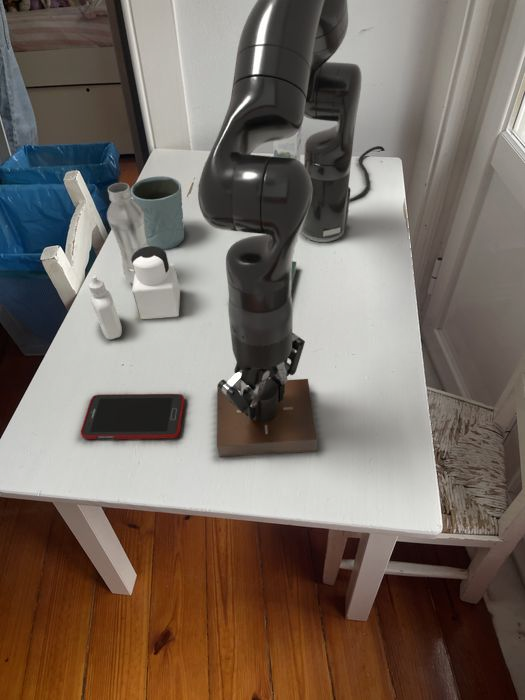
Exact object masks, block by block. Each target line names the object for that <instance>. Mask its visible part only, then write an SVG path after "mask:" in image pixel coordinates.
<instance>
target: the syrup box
mask: <svg viewBox="0 0 525 700" xmlns="http://www.w3.org/2000/svg"><path fill="white" fill-rule="evenodd" d="M301 148H302V127H301V128H300V129H299V131H298V132H297V133H296V134H295V135H293V136H292V137H290V138H287V139H283V140H279V141H274V142H273V156H277V157H289V158H293V159H296V160H298V161H300V162H301V150H302V149H301Z"/></svg>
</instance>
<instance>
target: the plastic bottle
mask: <svg viewBox="0 0 525 700" xmlns="http://www.w3.org/2000/svg"><path fill="white" fill-rule="evenodd" d="M107 193H108V199H109V201H110V204H109V206H108V208H107V211H106V220H107V222H108V225H109V227H110V229H111V231H112V233H113V235H114V237H115V240H116V242H117V244H118V248H119V251H120V256H121V260H122V272H123V275H124V277H125V279H126V281H127V282H128V283H130V284H131V285H133V282H134V276H135V272H134V268H133V265H132V261H131V258H132V256H133V254H134V253H135V252H136V251H137V250H139V249H141V248H144V247H149V244H148V240H147V235H146V228H145V216H144V212H143V210H142V208H141V207H140V205H139V204H138V203H137V202H135V201H134V200H133V198H132V193H131V187H130V185H129V184H128V183H126V182H115V183H113V184H111V185H109V186H108V187H107Z"/></svg>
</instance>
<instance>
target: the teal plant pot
mask: <svg viewBox="0 0 525 700" xmlns="http://www.w3.org/2000/svg"><path fill="white" fill-rule="evenodd" d="M130 191H131V193H132V198H131V199H133V200H134V201H135V202H137V203H138V204H139V205H140V207H141V208H142V210H143V212H144V216H145V228H146V235H147V240H148V244H149V246H155V247H159V248H161V249H163V250H168V249H172V248H175V247H177V246H179V245H180V244H181V243H182V242H183V241H184V240H185V227H184V222H183V219H184V212H183V202H182V201H183V195H182V184H181V183H180V181H179V180H177V179H175V178H173V177H170V176H166V175H165V176H164V175H161V176H159V175H158V176H151V177H146V178H142V179H141V180H139V181H137V182H135V183H134V184H133V185H132V186H131V187H130Z"/></svg>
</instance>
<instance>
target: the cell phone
mask: <svg viewBox="0 0 525 700" xmlns="http://www.w3.org/2000/svg"><path fill="white" fill-rule="evenodd" d="M184 407H185V397H184V395H183V394H181V393H132V394H131V393H125V394H123V393H122V394H120V393H119V394H118V393H117V394H112V393H110V394H107V393H106V394H95V395H93V396H92V397H91V399H90V401H89V404H88V407H87V409H86V413H85V416H84V419H83V423H82V425H81V431H80V435H81V437H82V438H83V439H86V440H87V439H88V440H89V439H90V440H91V439H93V440H96V439H115V440H116V439H117V440H120V439H122V440H123V439H131V440H133V439H134V440H135V439H175V438H178V437H179V435H180V432H181V426H182V421H183V420H182V417H183V414H184Z"/></svg>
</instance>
